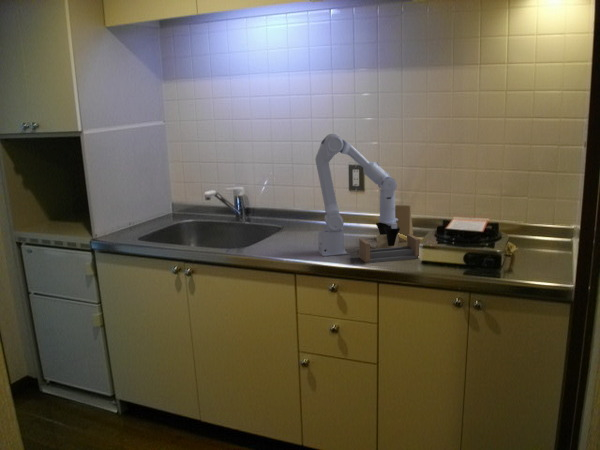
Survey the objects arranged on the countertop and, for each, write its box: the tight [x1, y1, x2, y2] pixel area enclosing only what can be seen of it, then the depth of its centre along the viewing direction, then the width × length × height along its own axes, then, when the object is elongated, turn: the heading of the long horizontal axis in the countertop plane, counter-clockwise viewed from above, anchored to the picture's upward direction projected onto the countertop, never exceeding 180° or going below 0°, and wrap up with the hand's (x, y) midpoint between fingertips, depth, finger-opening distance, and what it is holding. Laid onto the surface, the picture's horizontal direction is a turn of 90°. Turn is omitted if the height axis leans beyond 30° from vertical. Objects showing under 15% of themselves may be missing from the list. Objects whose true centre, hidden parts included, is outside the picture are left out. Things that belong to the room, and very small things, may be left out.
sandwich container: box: [395, 204, 414, 243], centre depth 234 cm, size 9×15×15 cm, turn 163°
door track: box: [358, 234, 421, 264], centre depth 205 cm, size 20×8×7 cm, turn 101°
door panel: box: [376, 234, 400, 249], centre depth 215 cm, size 8×2×6 cm, turn 101°
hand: (387, 243), depth 216 cm, fingers open, 7 cm apart
